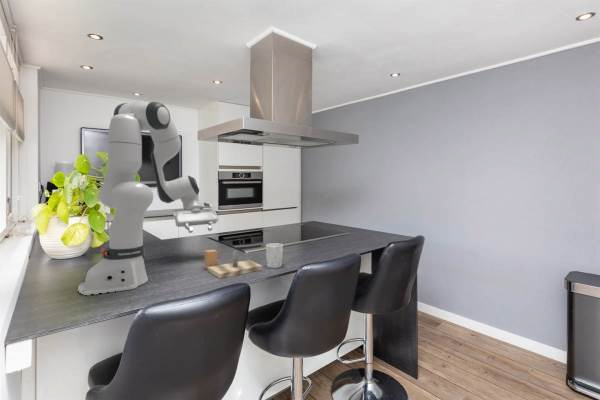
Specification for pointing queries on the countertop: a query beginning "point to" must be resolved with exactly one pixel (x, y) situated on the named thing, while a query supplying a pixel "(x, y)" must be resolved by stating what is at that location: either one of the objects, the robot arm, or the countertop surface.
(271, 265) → the white cup
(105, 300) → the countertop surface
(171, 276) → the countertop surface
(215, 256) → the orange brown wooden block
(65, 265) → the countertop surface
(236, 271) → the post base
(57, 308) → the countertop surface
